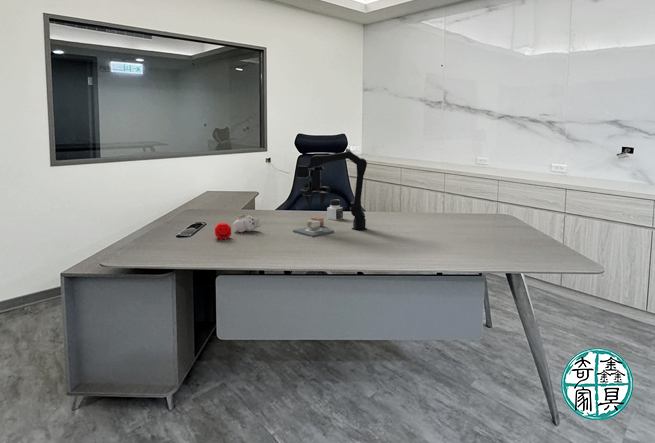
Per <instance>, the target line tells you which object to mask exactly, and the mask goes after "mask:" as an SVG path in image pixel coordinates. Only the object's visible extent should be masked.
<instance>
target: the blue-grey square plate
mask: <svg viewBox="0 0 655 443" xmlns="http://www.w3.org/2000/svg"><path fill="white" fill-rule="evenodd" d="M292 232H293V233H297V234H299V233H300V235H303V234H304V235H303V236H307V235H308V236H307V237H310V236H312V237H311V238H314V237H313V236H315V237H319V236H323V234H324V235H327V234H328V233H329V234H332V233H333V232H334V233H335V230H334V229H333V230H332V229H328V228H326V227H323V226H322V227H320V230H318V231H309V230H307V226H306V227H301V228H297V229H293V230H292ZM318 235H319V236H318Z"/></svg>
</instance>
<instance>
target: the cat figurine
mask: <svg viewBox="0 0 655 443" xmlns="http://www.w3.org/2000/svg"><path fill="white" fill-rule="evenodd" d="M236 218H237V219H236V220H235V221H234V222H233V223H232V228H233V229H234V230H235V231H236V232H238V233H239V232H241V233H244V232H252V231H254V230H256V229H257V228H260V227H261V224H259V223H260V218H255V217H253V216H252V215H247V216H246V215H245V214H240V215H238V216H236Z"/></svg>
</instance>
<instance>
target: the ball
mask: <svg viewBox="0 0 655 443" xmlns="http://www.w3.org/2000/svg"><path fill="white" fill-rule="evenodd" d="M214 234H215V237H216V238H218V239H219V240H226V239H225V238H228V239H229V238H230V237H231V236H232V226H230V225H229V223H227V222H219V223H217V224H216V225H215V227H214Z"/></svg>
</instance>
